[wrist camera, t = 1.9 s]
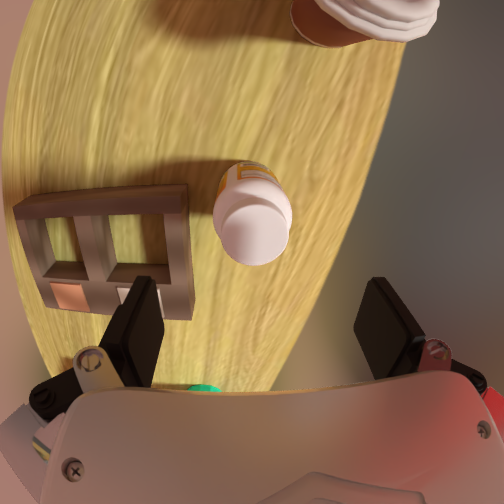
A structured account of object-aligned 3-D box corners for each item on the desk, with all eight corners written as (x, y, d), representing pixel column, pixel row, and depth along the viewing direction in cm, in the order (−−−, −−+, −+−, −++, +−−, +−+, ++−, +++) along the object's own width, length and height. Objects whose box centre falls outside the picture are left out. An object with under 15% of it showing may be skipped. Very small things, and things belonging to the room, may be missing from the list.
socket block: (30, 195, 23) (10, 208, 19) (187, 184, 24) (179, 197, 20) (58, 290, 29) (45, 308, 26) (195, 299, 30) (191, 322, 27)
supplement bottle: (238, 227, 26) (239, 289, 18) (207, 180, 24) (189, 223, 15) (288, 199, 25) (315, 250, 17) (259, 149, 23) (273, 174, 14)
